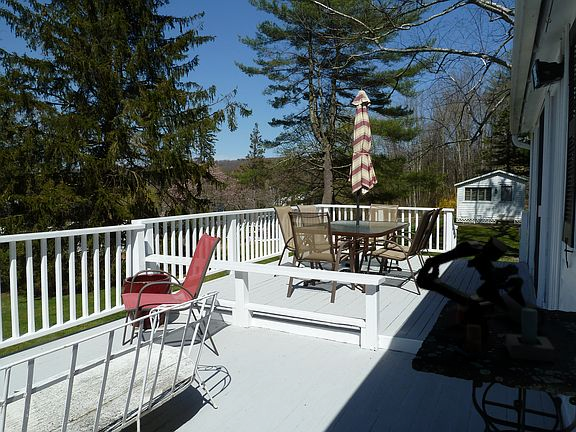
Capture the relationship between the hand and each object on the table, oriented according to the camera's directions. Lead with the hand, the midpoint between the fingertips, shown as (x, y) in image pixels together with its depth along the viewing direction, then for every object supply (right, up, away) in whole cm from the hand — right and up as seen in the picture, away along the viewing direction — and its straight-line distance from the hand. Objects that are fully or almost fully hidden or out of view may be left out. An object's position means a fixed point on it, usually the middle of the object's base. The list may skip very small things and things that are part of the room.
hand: (516, 308), depth 147 cm
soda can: (-5, -13, +28) cm, 31 cm away
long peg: (+2, -14, -3) cm, 14 cm away
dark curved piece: (+17, -12, +29) cm, 36 cm away
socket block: (+2, -14, -3) cm, 14 cm away
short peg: (-14, -14, 0) cm, 20 cm away
